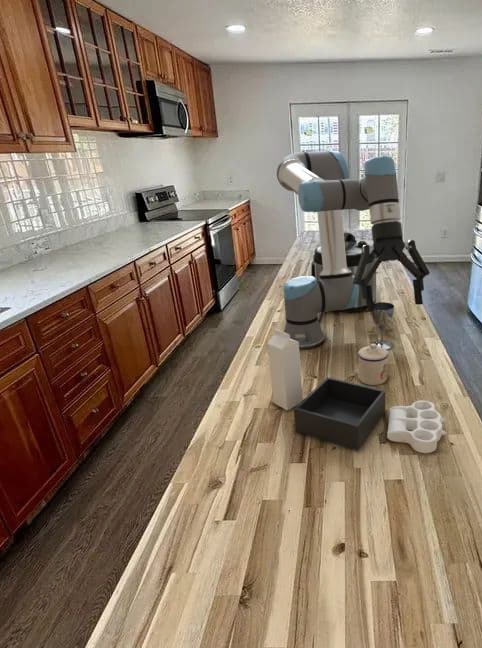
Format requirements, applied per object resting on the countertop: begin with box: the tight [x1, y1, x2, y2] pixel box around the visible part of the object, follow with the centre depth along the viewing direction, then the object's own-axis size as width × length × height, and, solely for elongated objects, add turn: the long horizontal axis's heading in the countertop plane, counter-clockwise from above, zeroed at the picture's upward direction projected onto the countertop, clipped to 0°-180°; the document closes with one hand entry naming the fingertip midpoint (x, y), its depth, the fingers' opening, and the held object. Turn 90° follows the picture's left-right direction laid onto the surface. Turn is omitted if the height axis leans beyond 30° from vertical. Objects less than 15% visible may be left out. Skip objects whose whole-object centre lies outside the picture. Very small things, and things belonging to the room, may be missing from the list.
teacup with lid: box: [357, 343, 389, 386], centre depth 134 cm, size 12×9×12 cm
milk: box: [267, 328, 304, 411], centre depth 119 cm, size 6×6×22 cm
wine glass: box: [370, 301, 395, 350], centre depth 153 cm, size 8×8×15 cm
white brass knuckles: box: [386, 400, 448, 454], centre depth 110 cm, size 3×18×15 cm
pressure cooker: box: [310, 231, 377, 314], centre depth 188 cm, size 30×28×32 cm
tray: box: [293, 376, 387, 451], centre depth 113 cm, size 18×18×7 cm
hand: (395, 308), depth 112 cm, fingers open, 13 cm apart
